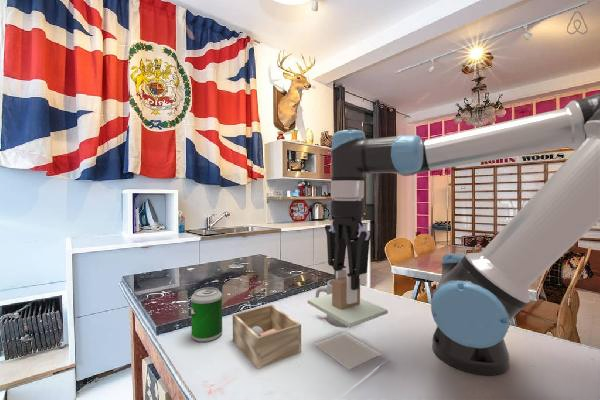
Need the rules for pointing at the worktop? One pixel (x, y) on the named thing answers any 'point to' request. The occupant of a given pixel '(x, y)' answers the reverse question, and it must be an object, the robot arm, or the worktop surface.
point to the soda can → (206, 314)
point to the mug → (329, 291)
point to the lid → (346, 305)
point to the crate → (266, 335)
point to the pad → (347, 350)
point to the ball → (257, 330)
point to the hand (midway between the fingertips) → (346, 299)
